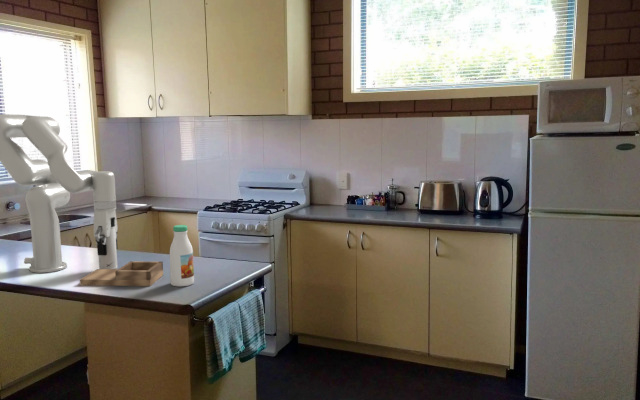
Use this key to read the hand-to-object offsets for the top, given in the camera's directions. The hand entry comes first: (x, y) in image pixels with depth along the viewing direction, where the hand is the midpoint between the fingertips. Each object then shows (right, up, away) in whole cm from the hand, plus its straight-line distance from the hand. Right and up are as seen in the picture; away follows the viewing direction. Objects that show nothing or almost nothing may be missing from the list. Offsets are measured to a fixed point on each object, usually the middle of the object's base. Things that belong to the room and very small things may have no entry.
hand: (107, 252), depth 200 cm
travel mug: (0, -7, +1) cm, 7 cm away
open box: (+9, -9, -11) cm, 17 cm away
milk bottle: (+31, -10, -15) cm, 36 cm away
